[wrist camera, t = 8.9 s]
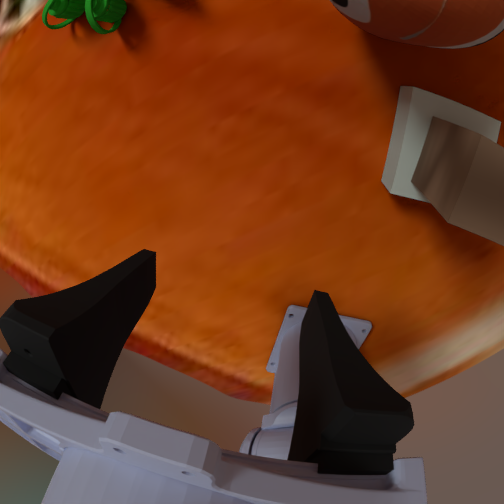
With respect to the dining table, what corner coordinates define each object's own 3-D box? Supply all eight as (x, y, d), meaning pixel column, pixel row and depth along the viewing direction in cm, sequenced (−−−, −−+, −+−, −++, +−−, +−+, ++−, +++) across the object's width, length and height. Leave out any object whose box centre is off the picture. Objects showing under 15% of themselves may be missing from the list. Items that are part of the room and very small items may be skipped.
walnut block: (463, 202, 17) (506, 247, 12) (410, 181, 17) (447, 222, 12) (486, 143, 15) (539, 172, 10) (432, 115, 15) (482, 134, 10)
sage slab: (458, 199, 20) (475, 215, 18) (380, 179, 21) (390, 193, 18) (480, 115, 16) (501, 122, 14) (398, 85, 17) (413, 86, 14)
